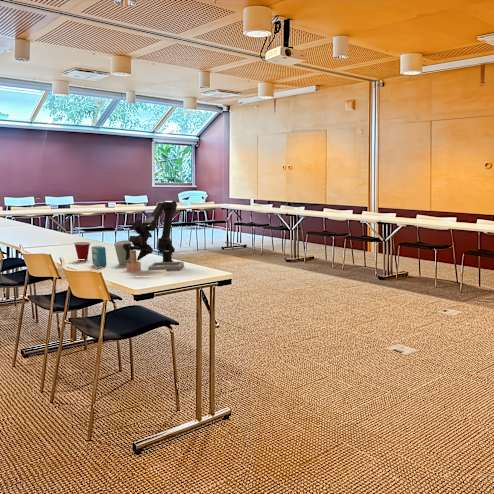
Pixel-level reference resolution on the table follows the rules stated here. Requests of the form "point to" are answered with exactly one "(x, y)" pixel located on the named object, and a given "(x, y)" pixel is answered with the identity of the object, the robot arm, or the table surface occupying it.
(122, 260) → the disposable coffee cup
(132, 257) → the dowel
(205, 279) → the table surface
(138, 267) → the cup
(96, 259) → the data package
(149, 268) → the tray
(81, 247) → the plastic cup
